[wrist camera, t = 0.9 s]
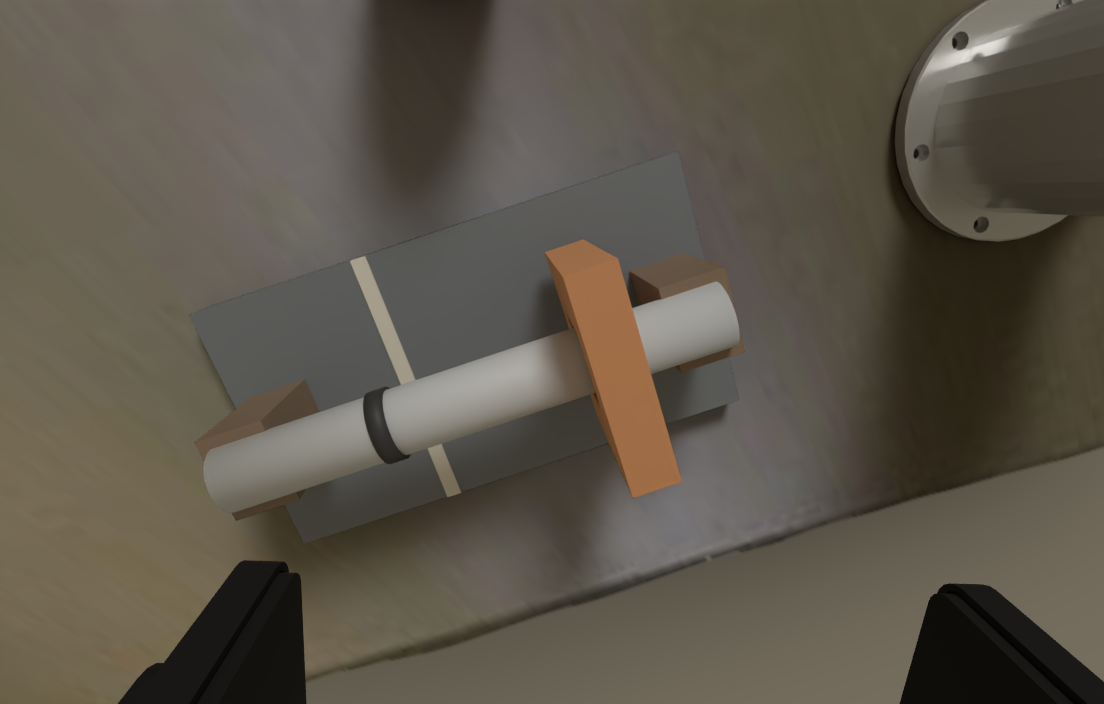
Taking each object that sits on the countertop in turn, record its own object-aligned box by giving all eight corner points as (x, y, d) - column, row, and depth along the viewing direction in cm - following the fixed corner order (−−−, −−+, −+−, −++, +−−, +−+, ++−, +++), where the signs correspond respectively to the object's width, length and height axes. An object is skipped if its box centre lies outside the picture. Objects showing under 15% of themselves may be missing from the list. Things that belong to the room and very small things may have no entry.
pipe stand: (670, 153, 31) (736, 137, 23) (729, 391, 35) (805, 457, 26) (202, 309, 31) (86, 353, 23) (312, 530, 35) (249, 641, 26)
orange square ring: (583, 239, 29) (617, 258, 21) (632, 402, 32) (682, 482, 23) (544, 252, 29) (562, 276, 21) (596, 414, 32) (632, 498, 23)
